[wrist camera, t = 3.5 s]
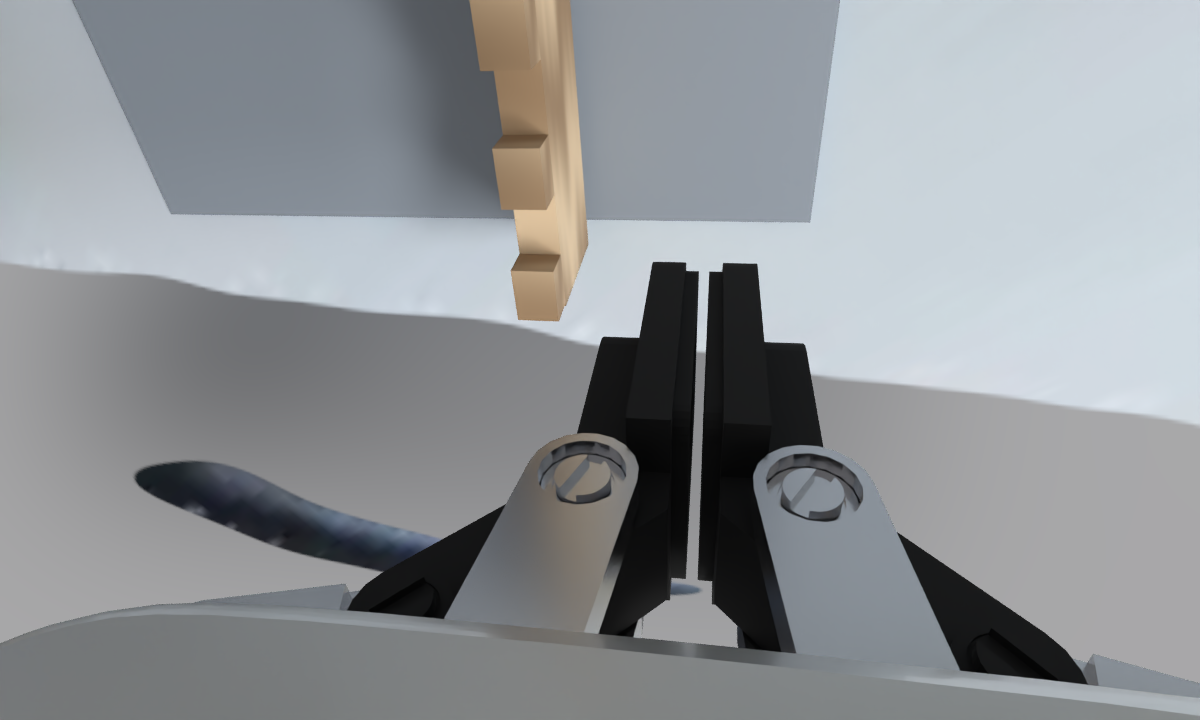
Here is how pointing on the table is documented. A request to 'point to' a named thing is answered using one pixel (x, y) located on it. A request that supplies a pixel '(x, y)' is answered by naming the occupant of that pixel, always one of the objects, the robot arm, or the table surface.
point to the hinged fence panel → (537, 145)
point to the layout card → (466, 105)
